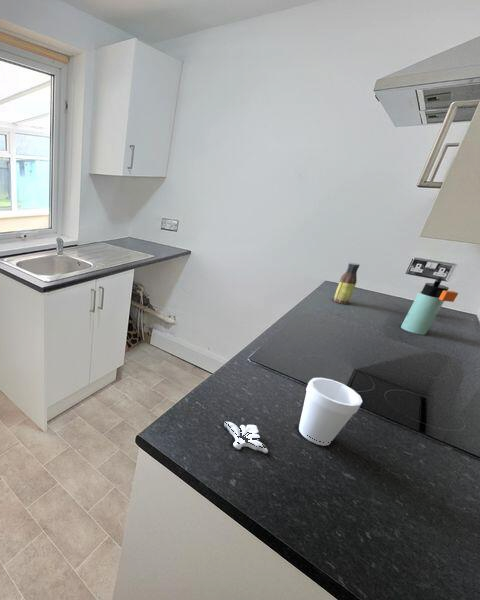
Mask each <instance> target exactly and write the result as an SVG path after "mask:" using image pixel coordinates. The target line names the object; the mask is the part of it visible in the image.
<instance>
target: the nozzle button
mask: <svg viewBox="0 0 480 600" xmlns="http://www.w3.org/2000/svg"><path fill="white" fill-rule="evenodd" d="M458 295H459V292H457V291H454V290H448V291H445V290H443V291H442V293H441V295H440V297H439V299H440V300H442V301H444V302H450V303H454V302H455V300H456V298H457V297H458Z"/></svg>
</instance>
